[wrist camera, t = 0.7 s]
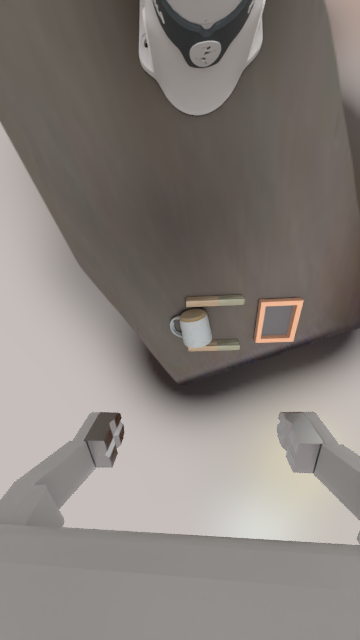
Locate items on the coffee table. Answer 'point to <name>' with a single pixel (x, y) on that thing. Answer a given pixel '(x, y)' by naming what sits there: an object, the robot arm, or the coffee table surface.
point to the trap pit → (277, 319)
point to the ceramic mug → (193, 328)
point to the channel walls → (216, 301)
